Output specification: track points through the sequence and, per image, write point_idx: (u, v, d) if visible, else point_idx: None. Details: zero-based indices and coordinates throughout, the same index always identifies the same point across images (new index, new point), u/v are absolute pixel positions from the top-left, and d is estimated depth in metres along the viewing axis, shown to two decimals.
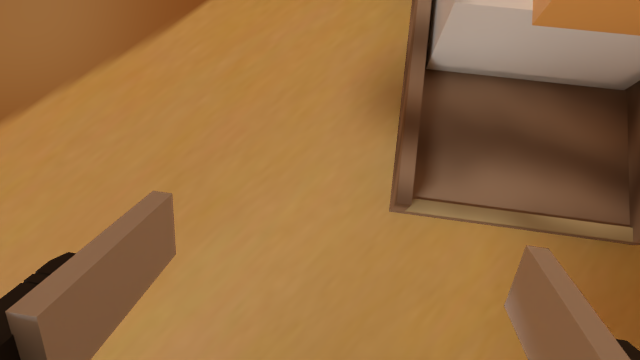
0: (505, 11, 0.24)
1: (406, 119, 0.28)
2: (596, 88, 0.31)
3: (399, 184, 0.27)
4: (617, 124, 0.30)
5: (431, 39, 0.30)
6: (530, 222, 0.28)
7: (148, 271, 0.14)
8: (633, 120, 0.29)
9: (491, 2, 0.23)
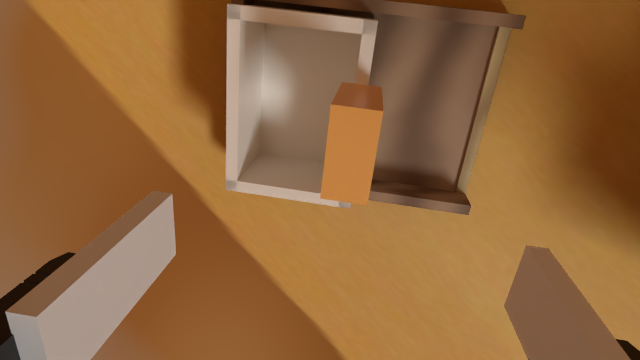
0: None
1: (406, 205, 0.39)
2: None
3: (455, 212, 0.38)
4: (407, 25, 0.35)
5: None
6: (485, 107, 0.37)
7: (148, 271, 0.14)
8: None
9: None
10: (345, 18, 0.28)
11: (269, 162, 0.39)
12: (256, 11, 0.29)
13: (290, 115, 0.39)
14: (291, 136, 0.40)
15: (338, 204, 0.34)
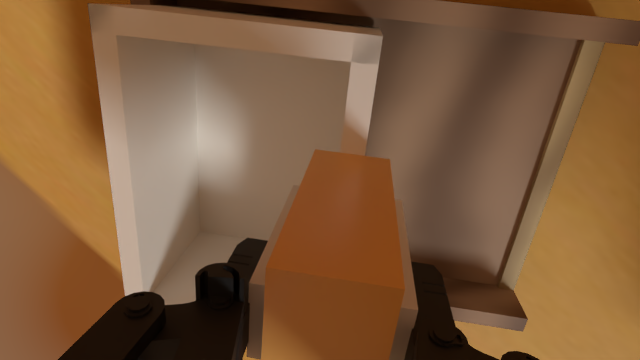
0: None
1: None
2: None
3: (502, 327, 0.25)
4: (428, 37, 0.21)
5: None
6: (551, 167, 0.23)
7: None
8: None
9: None
10: (318, 31, 0.14)
11: (211, 251, 0.25)
12: (144, 18, 0.15)
13: (243, 178, 0.25)
14: (246, 207, 0.26)
15: None
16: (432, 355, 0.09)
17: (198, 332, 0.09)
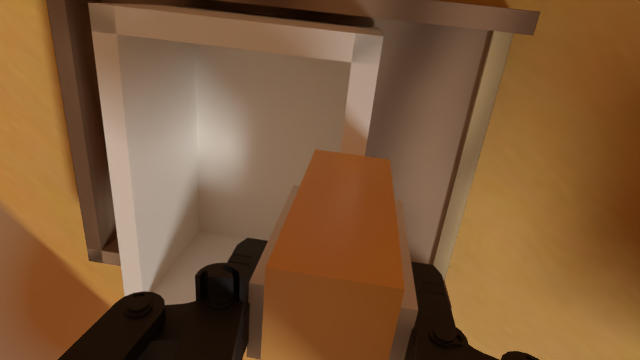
0: None
1: None
2: None
3: None
4: None
5: None
6: (472, 157, 0.23)
7: None
8: None
9: None
10: (318, 31, 0.14)
11: (211, 251, 0.25)
12: (144, 18, 0.15)
13: (243, 178, 0.25)
14: (246, 207, 0.26)
15: None
16: (432, 355, 0.09)
17: (198, 332, 0.09)
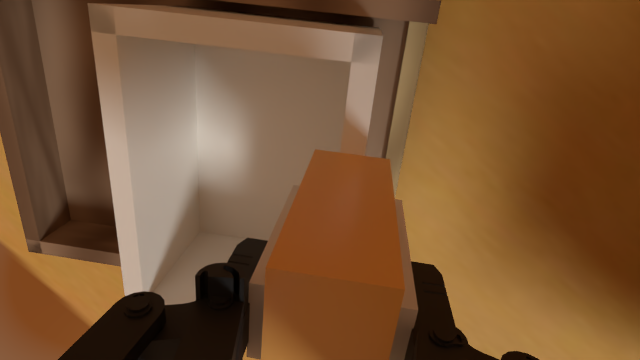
0: None
1: None
2: None
3: None
4: None
5: None
6: (397, 147, 0.24)
7: None
8: None
9: None
10: (318, 31, 0.14)
11: (211, 251, 0.25)
12: (144, 19, 0.15)
13: (243, 178, 0.25)
14: (246, 207, 0.26)
15: None
16: (432, 355, 0.09)
17: (198, 332, 0.09)
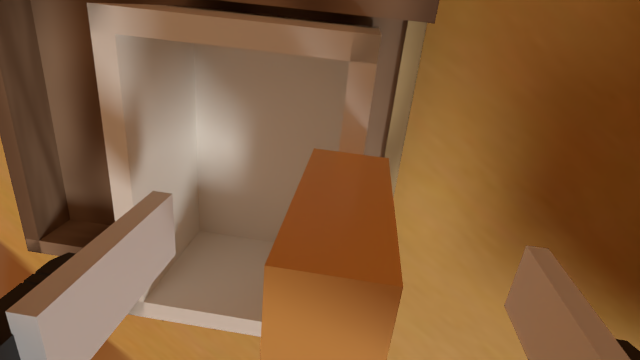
0: None
1: None
2: None
3: None
4: None
5: None
6: (396, 146, 0.24)
7: (148, 271, 0.14)
8: None
9: None
10: (316, 30, 0.14)
11: (211, 250, 0.25)
12: (143, 18, 0.15)
13: (242, 177, 0.25)
14: (246, 207, 0.26)
15: None
16: None
17: None
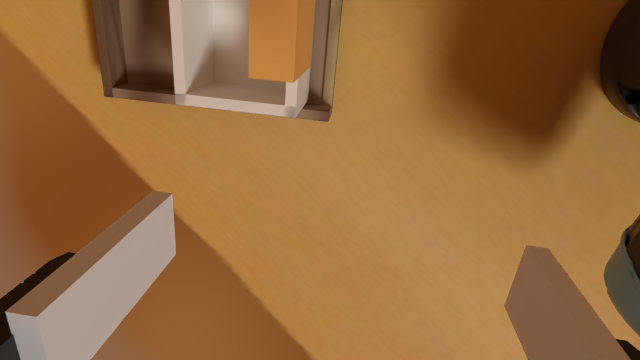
0: (298, 81, 0.34)
1: None
2: None
3: (315, 119, 0.40)
4: None
5: None
6: (336, 15, 0.39)
7: (149, 271, 0.14)
8: None
9: (293, 93, 0.34)
10: None
11: (222, 86, 0.40)
12: None
13: (242, 40, 0.40)
14: (244, 61, 0.41)
15: (284, 114, 0.35)
16: None
17: None
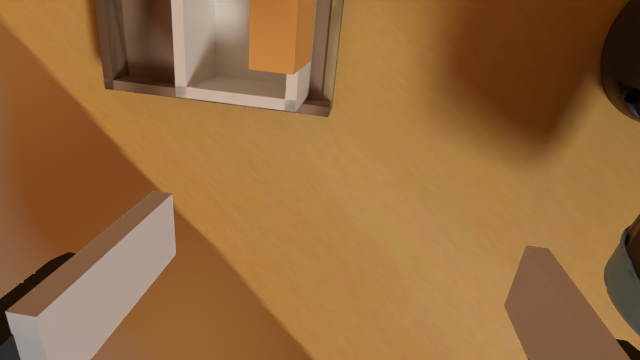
0: (298, 75, 0.34)
1: (270, 109, 0.41)
2: None
3: (315, 114, 0.40)
4: None
5: None
6: (337, 10, 0.39)
7: (148, 271, 0.14)
8: None
9: (294, 87, 0.34)
10: None
11: (223, 79, 0.40)
12: None
13: (243, 34, 0.40)
14: (245, 55, 0.41)
15: (284, 107, 0.35)
16: None
17: None
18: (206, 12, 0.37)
